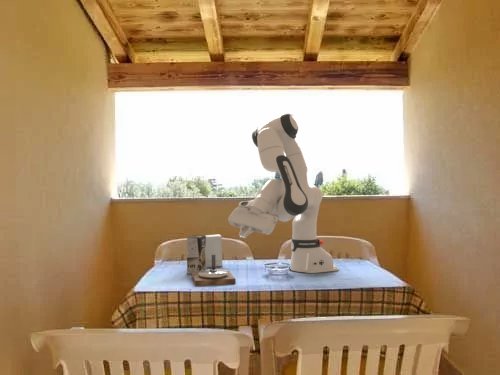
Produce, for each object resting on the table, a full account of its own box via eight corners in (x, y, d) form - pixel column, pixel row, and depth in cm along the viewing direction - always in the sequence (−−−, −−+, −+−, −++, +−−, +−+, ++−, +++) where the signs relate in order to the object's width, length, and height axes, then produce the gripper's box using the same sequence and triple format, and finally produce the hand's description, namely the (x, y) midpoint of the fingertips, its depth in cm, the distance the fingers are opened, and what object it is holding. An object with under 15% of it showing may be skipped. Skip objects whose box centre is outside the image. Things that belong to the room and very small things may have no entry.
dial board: (229, 275, 195) (229, 270, 195) (235, 283, 180) (235, 278, 180) (192, 277, 191) (192, 272, 191) (195, 285, 177) (195, 280, 176)
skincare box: (220, 264, 220) (220, 234, 220) (222, 266, 214) (222, 235, 214) (203, 265, 218) (203, 234, 218) (205, 267, 212) (204, 236, 212)
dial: (227, 278, 179) (227, 258, 179) (197, 278, 179) (197, 258, 179) (228, 272, 191) (227, 253, 191) (199, 272, 191) (199, 253, 191)
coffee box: (200, 274, 197) (200, 237, 197) (186, 273, 199) (186, 237, 198) (206, 270, 206) (206, 235, 206) (193, 269, 208) (192, 234, 207)
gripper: (283, 220, 177) (266, 247, 170) (242, 211, 189) (224, 236, 182) (278, 209, 173) (260, 237, 166) (236, 201, 185) (218, 226, 178)
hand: (241, 236), depth 174 cm, fingers closed
